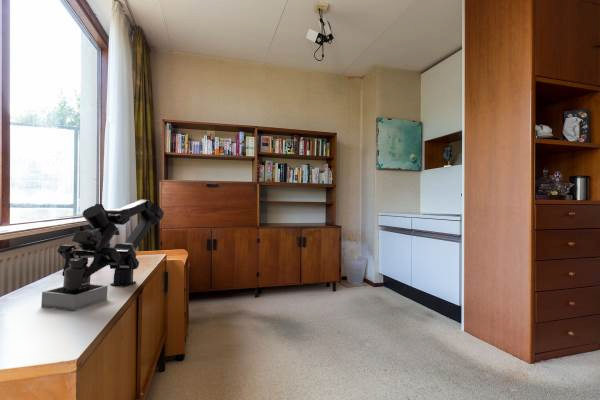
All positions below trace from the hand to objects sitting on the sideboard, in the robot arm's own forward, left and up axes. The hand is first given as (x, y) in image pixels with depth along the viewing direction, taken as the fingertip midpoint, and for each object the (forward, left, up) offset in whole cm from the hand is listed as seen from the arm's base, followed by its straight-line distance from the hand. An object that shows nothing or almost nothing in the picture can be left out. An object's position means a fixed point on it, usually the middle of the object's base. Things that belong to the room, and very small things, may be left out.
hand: (74, 276), depth 93 cm
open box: (-1, 0, -9) cm, 9 cm away
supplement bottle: (-1, 0, -7) cm, 7 cm away
